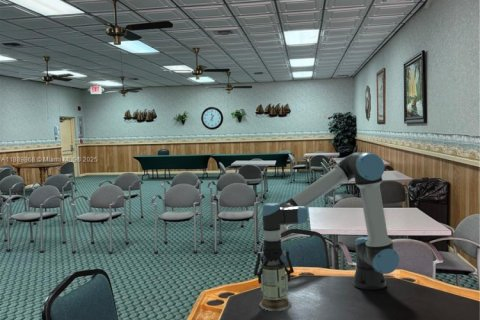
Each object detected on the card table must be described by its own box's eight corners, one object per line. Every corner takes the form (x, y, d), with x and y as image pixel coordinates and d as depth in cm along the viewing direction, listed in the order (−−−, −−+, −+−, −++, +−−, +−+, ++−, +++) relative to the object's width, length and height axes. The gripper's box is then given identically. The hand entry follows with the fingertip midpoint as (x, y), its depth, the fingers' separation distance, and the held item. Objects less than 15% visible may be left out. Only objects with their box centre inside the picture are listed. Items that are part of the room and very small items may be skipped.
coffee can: (265, 291, 197) (264, 260, 196) (288, 292, 194) (287, 261, 193) (260, 299, 187) (259, 267, 186) (284, 300, 184) (282, 267, 184)
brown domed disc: (288, 298, 198) (288, 292, 198) (293, 310, 184) (293, 304, 184) (257, 300, 197) (257, 294, 197) (260, 312, 183) (260, 306, 183)
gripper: (296, 235, 194) (298, 285, 195) (245, 238, 193) (248, 288, 194) (299, 239, 186) (301, 291, 187) (246, 242, 185) (249, 294, 186)
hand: (274, 289), depth 190 cm, fingers closed on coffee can, 10 cm apart
